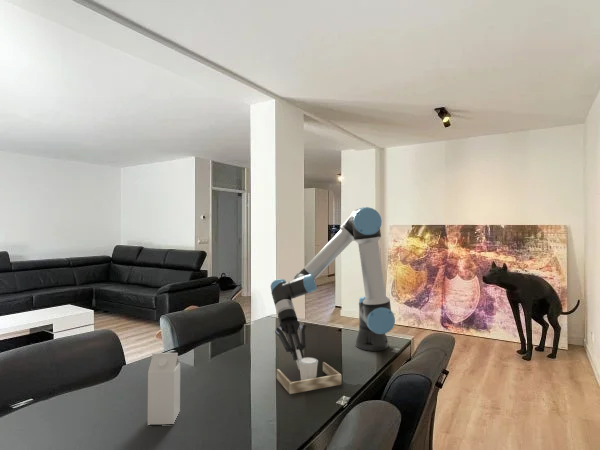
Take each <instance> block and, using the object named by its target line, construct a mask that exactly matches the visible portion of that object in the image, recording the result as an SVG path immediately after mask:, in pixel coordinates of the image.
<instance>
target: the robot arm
mask: <svg viewBox="0 0 600 450" xmlns="http://www.w3.org/2000/svg"><path fill="white" fill-rule="evenodd" d="M381 226H382V217H381V215H380V213H379V212H378V211H377V210H376V209H374V208H372V207H368V206H365V207H360V208H357V209H354V210H353V211H352V212H351V213H350V215H349V216H348V218H347V219H346V220H345V221H344V223H342V225H341V226H340V230H339V231H338V232H337V233H336V234H335V235H334V236H333V237H332V238H331V239H330V240H329V241H328V242H327V243H326V244H325V246H323V248H322V249H321V250H319V252H318V253H317V254H316V255H315V256H314V257H313V258H312V259H311V260H310V261H309V262H308V263H307V264H306V265H305V266H304V267H303V268H302V269H301V271H299V272H298V273H296V275H294V277H293V280H289V281H286V279H284V278H280V279H279V278H278V279H274V281H272V282H271V283H270V291H271V292H270V293H271V297H272V300H273V304H274V307H275V311H276V315H277V319H278V323H279V326H278V327H276V329H275V331H274V333H275V335H277V336H278V338H279V340H280V342H281V344H282V346H283V347H284V349H285V352H287V353H290V355H292V359H293V361H295V362H296V366H297V369H298V370H299V371H300V364H299V360H300V359H301V358H305V357H304V356H305V355H304V353H303V351H304V350H305V348H306V328H307V327H306V326H307V325H305V324H303V325H302V324H300V322H299V320H298V317H297V312H296V310H295V306H294V303H293V299H296V298H298V297H301V296H304V295H307V294H311V293H312V292H315V291H317V289H318V288H317V284H316V282H315V281H316V279H317V278H318V277H319V276H320V275H321V274H322V273H323V272H324V271H325V269H327V268H328V267H329V266H330V265H331V264H332V263H333V261H335V260H336V258H338V256H339V255H340V254H341V253H342V252H343V251H344V250H346V248H347V247H348V246H349V245H350V244H351V243H352V242H354V241H355V242H356V243H357V244H358V252H359V259H360V260H359V261H360V267H361V272H362V273H361V274H362V279H363V281H362V282H363V288H364V295H365V296H360V297H359V298H358V299H359V301H358V331H357V334H356V337H355V340H354V342H355V344H354V345H355V347H356V348H358V349H360V350H365V351H372V352H380V351H385V350H387V349H388V348H389V341H388V338H387V335H386V334H387V333H389V332H390V331H391V330H392V329H393V328H394V327H395V323H396V317H395V314H394V312H393V311H392V307H391V300H390V298H389V297H387V295H386V289H385V282H384V281H385V280H384V275H383V274H384V273H383V267H382V261H381V253H380V246H379V240H380V239H381V238H382V234H381V233H382V231H381V228H382V227H381ZM298 330H299V331H298ZM299 332H300V333H299ZM284 333H285V334H284ZM298 333H299V334H298ZM299 335H300V336H299Z"/></svg>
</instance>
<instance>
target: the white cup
mask: <svg viewBox="0 0 600 450" xmlns="http://www.w3.org/2000/svg"><path fill="white" fill-rule="evenodd" d="M299 364H300V370H299V372H300V381H301V380H307V379H313V378H317V376H318V365H319V360H318V359H317V358H315V357H310V356H309V357H308V356H307V357H304V358H301V359H300V360H299Z"/></svg>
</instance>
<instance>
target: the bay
mask: <svg viewBox="0 0 600 450" xmlns="http://www.w3.org/2000/svg"><path fill="white" fill-rule="evenodd" d="M322 372H323V373H324V374H326V375H325V376H320V377H316V378H313V379H307V380H301V379H300V380H297V381H291V380H290V379H289V378H288V377H287V376H286V374H284V373H283V372H282V371H281V370H280V369H279V368H277V369H276V381H278V382H279V384H280V385H281V386H282V387H283V388H284V389H285V391H286V392H287V393H288V394H289V395H292V394H297V393H303V392H308V391H313V390H318V389H325V388H330V387H335V386H341V385H342V374H341V373H340V372H339V371H338V370H336V369H335V368H334V367H333V366H331V365H329V364H328V363H326V362H325V361H322Z"/></svg>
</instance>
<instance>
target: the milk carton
mask: <svg viewBox="0 0 600 450" xmlns="http://www.w3.org/2000/svg"><path fill="white" fill-rule="evenodd" d="M178 354H179V353H178V352H160V353H159V352H157V353H152V354H151V361H150V365H149V367H148V369H147V370H148V371H147V373H148V374H147V426H148V425H150V424H174V425H175V423H176V421H177V419H178V417H179V415H180V413H181V407H180V406H181V360H180V359H179V355H178ZM179 412H180V413H179ZM178 414H179V415H178ZM177 416H178V417H177ZM176 418H177V419H176ZM175 420H176V421H175ZM174 422H175V423H174Z"/></svg>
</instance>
